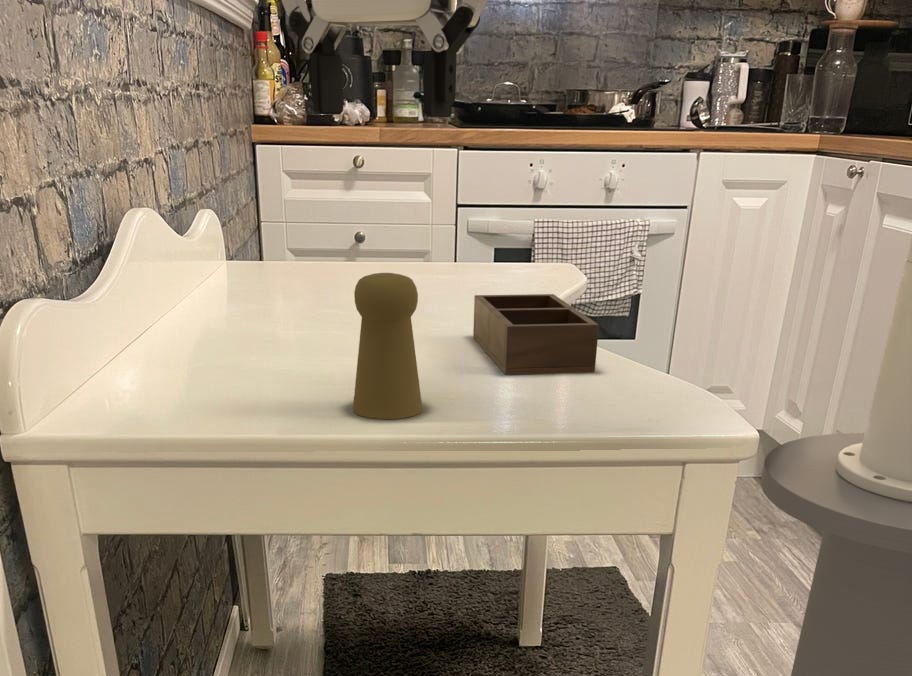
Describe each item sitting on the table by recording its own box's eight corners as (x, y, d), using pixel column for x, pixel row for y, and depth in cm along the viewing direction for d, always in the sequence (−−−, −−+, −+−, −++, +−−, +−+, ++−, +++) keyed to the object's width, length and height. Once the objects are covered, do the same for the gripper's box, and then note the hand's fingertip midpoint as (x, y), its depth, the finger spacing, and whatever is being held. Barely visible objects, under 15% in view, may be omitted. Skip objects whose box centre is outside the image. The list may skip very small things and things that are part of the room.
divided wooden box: (594, 372, 94) (599, 324, 92) (505, 374, 93) (507, 326, 91) (550, 335, 109) (553, 293, 107) (473, 337, 108) (474, 295, 106)
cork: (340, 414, 81) (335, 277, 75) (370, 396, 86) (367, 266, 80) (406, 422, 79) (405, 282, 73) (433, 404, 84) (434, 271, 78)
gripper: (520, -178, 63) (506, 118, 71) (306, -152, 70) (316, 113, 78) (468, -207, 57) (460, 118, 65) (241, -177, 64) (259, 113, 73)
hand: (381, 115), depth 72 cm, fingers open, 9 cm apart
